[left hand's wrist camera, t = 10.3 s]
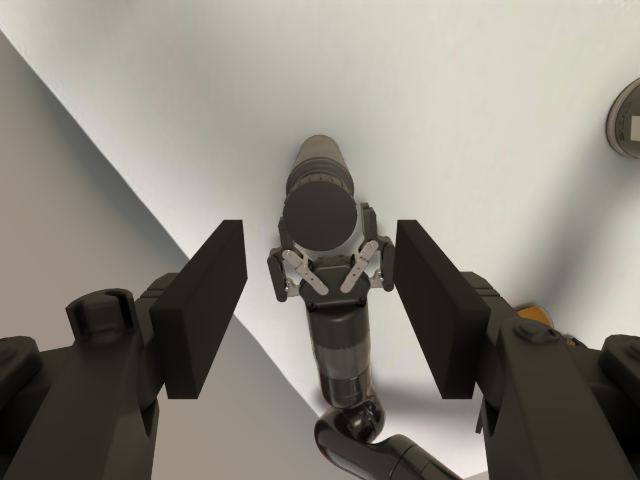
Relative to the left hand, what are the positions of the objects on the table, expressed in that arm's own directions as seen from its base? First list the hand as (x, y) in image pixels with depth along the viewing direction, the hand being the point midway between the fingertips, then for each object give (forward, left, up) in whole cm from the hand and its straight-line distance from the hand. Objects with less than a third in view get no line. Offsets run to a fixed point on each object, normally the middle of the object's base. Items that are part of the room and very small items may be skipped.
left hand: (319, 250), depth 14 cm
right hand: (+4, -2, -22) cm, 23 cm away
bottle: (0, 0, -29) cm, 29 cm away
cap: (0, 0, -5) cm, 5 cm away
